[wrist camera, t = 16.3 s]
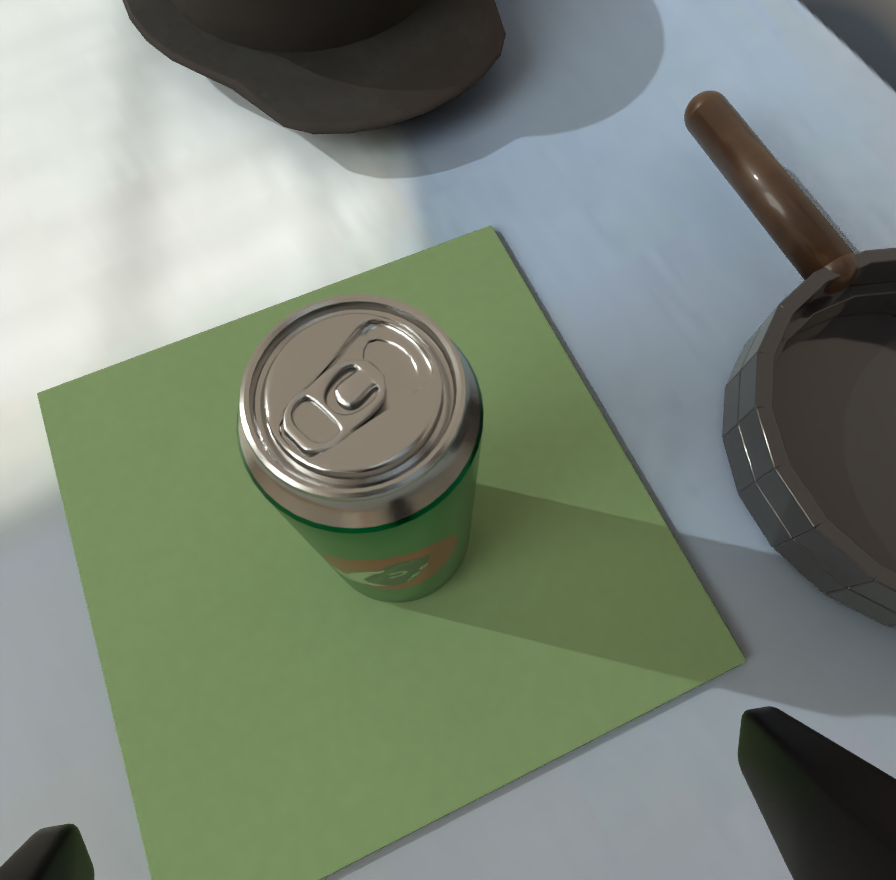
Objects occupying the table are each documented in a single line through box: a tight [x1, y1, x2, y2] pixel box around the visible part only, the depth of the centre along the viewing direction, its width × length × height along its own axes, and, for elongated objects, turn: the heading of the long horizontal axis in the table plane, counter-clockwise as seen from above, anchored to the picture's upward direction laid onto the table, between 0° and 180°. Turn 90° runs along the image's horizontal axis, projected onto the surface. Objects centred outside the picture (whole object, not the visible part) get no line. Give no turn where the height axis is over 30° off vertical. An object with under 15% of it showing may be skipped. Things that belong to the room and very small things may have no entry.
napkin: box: [37, 226, 746, 880], centre depth 24 cm, size 20×20×1 cm
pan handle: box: [684, 91, 858, 294], centre depth 26 cm, size 11×2×2 cm, turn 24°
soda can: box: [237, 294, 484, 603], centre depth 18 cm, size 5×5×12 cm
